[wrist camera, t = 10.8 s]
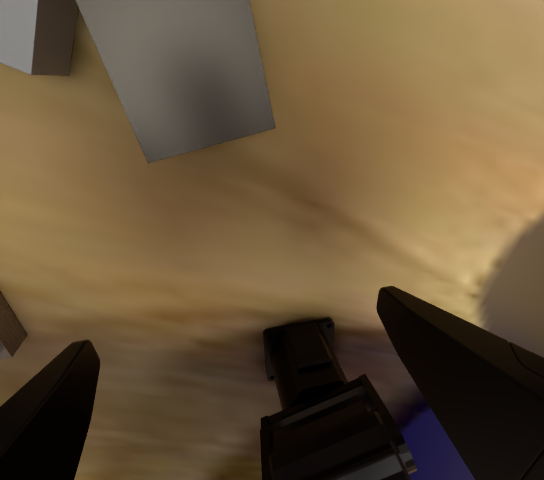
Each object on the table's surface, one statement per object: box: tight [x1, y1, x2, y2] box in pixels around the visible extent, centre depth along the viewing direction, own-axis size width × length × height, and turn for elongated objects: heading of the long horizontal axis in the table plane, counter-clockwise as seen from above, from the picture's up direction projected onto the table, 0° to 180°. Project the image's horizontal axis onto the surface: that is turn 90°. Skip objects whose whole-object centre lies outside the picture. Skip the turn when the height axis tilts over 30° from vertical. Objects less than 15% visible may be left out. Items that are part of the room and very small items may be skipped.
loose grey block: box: [76, 0, 275, 163], centre depth 14 cm, size 8×6×5 cm
